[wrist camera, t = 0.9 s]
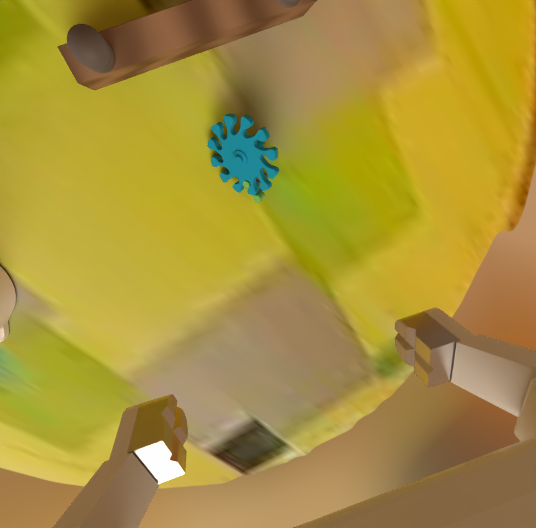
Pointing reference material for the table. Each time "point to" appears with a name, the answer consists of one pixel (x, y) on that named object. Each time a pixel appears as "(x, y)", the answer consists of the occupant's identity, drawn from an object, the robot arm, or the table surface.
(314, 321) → the table surface
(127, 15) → the table surface
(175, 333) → the table surface
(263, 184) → the gear
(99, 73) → the stop bar
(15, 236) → the table surface
